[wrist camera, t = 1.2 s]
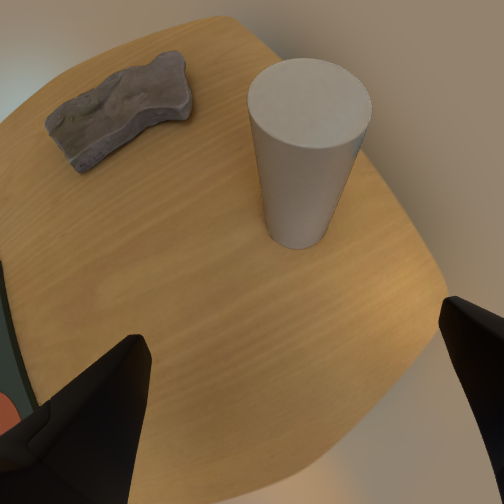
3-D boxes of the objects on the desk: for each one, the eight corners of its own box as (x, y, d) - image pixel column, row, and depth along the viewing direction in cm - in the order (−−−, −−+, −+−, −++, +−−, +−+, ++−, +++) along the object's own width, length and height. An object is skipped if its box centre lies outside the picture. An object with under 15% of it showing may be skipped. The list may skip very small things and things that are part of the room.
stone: (181, 58, 28) (171, 30, 24) (208, 117, 26) (198, 86, 22) (61, 119, 28) (42, 98, 24) (65, 187, 26) (41, 168, 22)
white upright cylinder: (339, 231, 22) (396, 122, 10) (283, 260, 22) (285, 168, 10) (308, 180, 24) (327, 46, 11) (254, 206, 23) (226, 80, 11)
